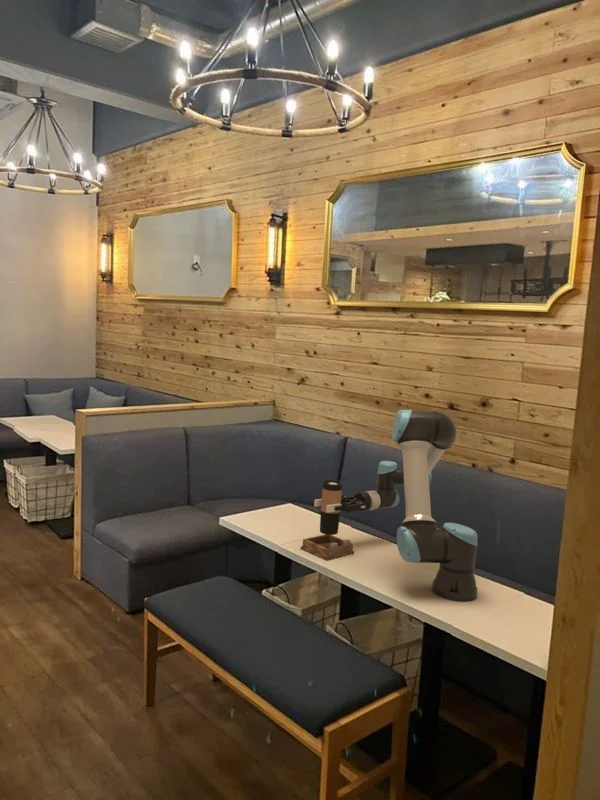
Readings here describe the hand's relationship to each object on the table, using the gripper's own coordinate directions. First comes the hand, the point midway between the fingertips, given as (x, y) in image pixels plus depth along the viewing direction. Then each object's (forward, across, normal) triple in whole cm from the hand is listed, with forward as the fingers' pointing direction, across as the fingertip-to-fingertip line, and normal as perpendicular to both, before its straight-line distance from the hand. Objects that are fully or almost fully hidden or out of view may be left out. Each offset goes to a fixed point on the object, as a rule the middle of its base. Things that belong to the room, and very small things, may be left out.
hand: (320, 506), depth 243 cm
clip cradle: (-5, 0, -19) cm, 19 cm away
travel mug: (-5, 0, -11) cm, 12 cm away
